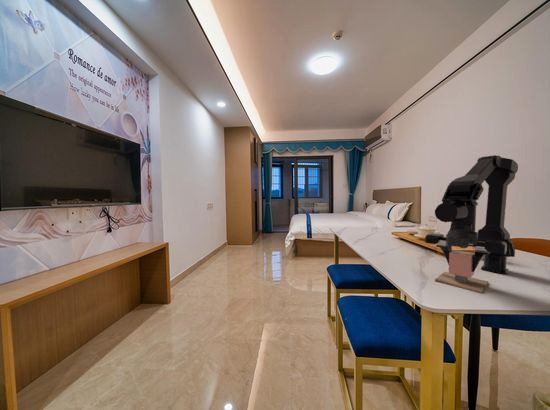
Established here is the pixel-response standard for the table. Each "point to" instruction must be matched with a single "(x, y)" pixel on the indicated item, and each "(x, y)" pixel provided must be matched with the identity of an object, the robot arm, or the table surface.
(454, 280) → the taupe inverted t block
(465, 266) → the pink rectangular block
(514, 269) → the table surface
